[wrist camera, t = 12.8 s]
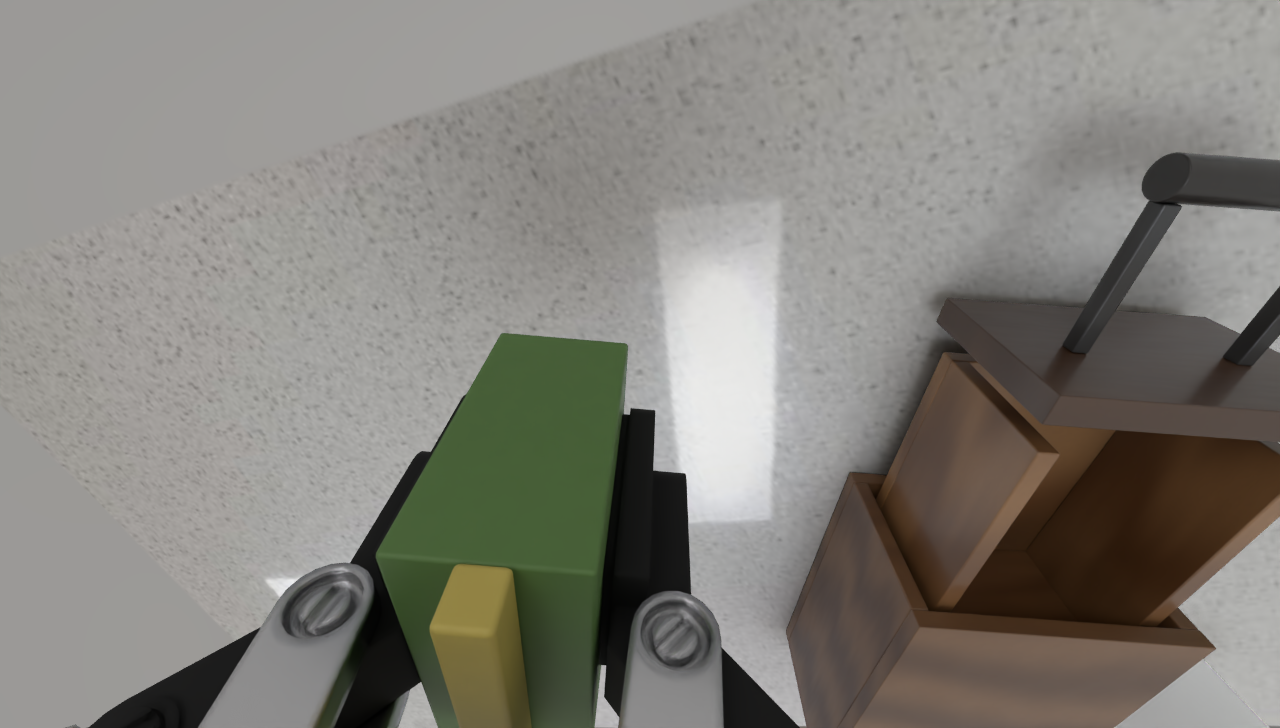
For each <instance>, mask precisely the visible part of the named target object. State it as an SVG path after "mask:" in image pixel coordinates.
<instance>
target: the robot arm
mask: <svg viewBox="0 0 1280 728" xmlns="http://www.w3.org/2000/svg"><path fill="white" fill-rule="evenodd" d="M465 396H466V395H464V396H463V398H462V399H461V401H460V402H459V404H458V406H457V408H456V409H455V411H454V413H453V415H452V416H451V418H450V420H449V422H448V423H447V425H446V427H445V428H444V430H443V432H442V434H441V435H440V437H439V439H438V441H437V442H436V444H435V446H434V448H433V449H432V451H431V452H425V451H421V452H420V453H418V454H417V455H416V456H415V458H414V459H413V460H412V462H411V464H410V465H409V467H408V469H407V470H406V472H405V474H404V475H403V477H402V479H401V480H400V482H399V484H398V485H397V487H396V488H395V490H394V492H393V493H392V495H391V497H390V498H389V500H388V502H387V503H386V505H385V507H384V508H383V510H382V511H381V513H380V515H379V516H378V518H377V520H376V521H375V523H374V525H373V526H372V528H371V530H370V531H369V533H368V535H367V536H366V538H365V539H364V541H363V543H362V544H361V546H360V548H359V549H358V551H357V553H356V554H355V556H354V558H353V559H352V561H351V562H350V563H337V564H330V565H327V566H324V567H321V568H318V569H315V570H313V571H312V572H310V573H308V574H306V575H305V576H303V577H301V578H300V579H298V580H297V581H296V582H295V583H294V584H292V585H291V586H290V587H289V588H288V589H287V590H286V591H285V592H284V594H283V595H282V596H281V597H280V599H279V600H278V601H277V602H276V604H275V606H274V607H273V609H272V610H271V612H270V614H269V615H268V617H267V618H266V620H265V622H264V623H263V625H262V626H261V627H260V628H258V629H257V630H255V631H253V632H251V633H249V634H247V635H245V636H244V637H242V638H240V639H238V640H236V641H234V642H232V643H231V644H229V645H227V646H225V647H224V648H221V649H219V650H218V651H216V652H214V653H212V654H210V655H208V656H207V657H205V658H203V659H201V660H199V661H197V662H195V663H194V664H192V665H190V666H188V667H186V668H184V669H182V670H181V671H179V672H177V673H175V674H173V675H171V676H170V677H168V678H166V679H164V680H162V681H160V682H158V683H156V684H155V685H153V686H151V687H149V688H147V689H146V690H144V691H142V692H140V693H138V694H136V695H134V696H132V697H131V698H129V699H127V700H125V701H124V702H122V703H121V704H119V705H118V706H116V707H114V708H113V709H111V710H110V711H108V712H107V713H105V714H104V715H103V716H102V717H101V718H100V719H98V720H97V721H96V722H95V723H94V724H92V725H91V726H90V727H88V728H398V726H399V723H400V720H401V717H402V714H403V712H404V709H405V706H406V703H407V700H408V697H409V691H410V689H411V688H413V687H414V686H416V685H417V684H418V683H420V682H421V679H420V677H419V674H418V671H417V669H416V666H415V663H414V660H413V658H412V655H411V652H410V650H409V647H408V644H407V641H406V639H405V636H404V633H403V631H402V628H401V625H400V622H399V620H398V617H397V614H396V612H395V609H394V606H393V603H392V601H391V598H390V595H389V592H388V590H387V587H386V584H385V582H384V579H383V576H382V573H381V571H380V568H379V565H378V563H377V560H376V552H377V550H378V548H379V547H380V545H381V543H382V541H383V540H384V538H385V536H386V534H387V533H388V531H389V529H390V527H391V526H392V524H393V522H394V520H395V519H396V517H397V515H398V513H399V512H400V510H401V508H402V506H403V505H404V503H405V501H406V499H407V498H408V496H409V494H410V492H411V491H412V489H413V487H414V485H415V484H416V482H417V480H418V478H419V477H420V475H421V473H422V471H423V470H424V468H425V466H426V464H427V463H428V461H429V459H430V457H431V456H432V454H433V452H434V450H435V449H436V447H437V445H438V443H439V442H440V440H441V438H442V436H443V435H444V433H445V431H446V429H447V428H448V426H449V424H450V422H451V421H452V419H453V417H454V415H455V414H456V412H457V410H458V408H459V407H460V405H461V403H462V401H463V400H464V398H465ZM654 431H655V410H644V409H632V408H631V411H630V415H625V414H623V415H622V422H621V430H620V439H619V447H618V455H617V463H616V471H615V479H614V487H613V495H612V504H611V512H610V520H609V528H608V536H607V544H606V552H605V561H604V571H603V586H602V607H601V628H600V650H599V665H606V679H605V694H604V697H605V699H606V700H607V701H608V703H609V704H610V705H611V707H612V708H613V709H614V711H615V712H616V713H617V715H618V716H619V726H618V728H800V727H799V726H798V725H797V724H796V723H795V722H794V721H793V720H792V719H791V718H790V717H789V716H788V715H787V714H786V713H785V712H784V711H783V710H782V709H781V708H780V707H779V706H778V705H777V704H776V703H775V702H774V701H773V700H772V699H771V698H770V697H769V696H768V695H767V694H766V693H765V692H764V691H763V690H762V688H761V687H760V686H759V685H758V684H757V683H756V682H755V681H754V680H753V679H752V678H751V677H750V676H749V675H748V674H747V673H746V672H745V671H744V670H743V669H742V668H741V667H740V666H739V665H738V664H737V663H736V662H735V661H734V660H733V659H732V658H731V657H730V656H729V655H728V654H727V653H726V652H725V651H724V649H723V648H722V647H721V636H720V630H719V625H718V623H717V621H716V619H715V617H714V615H713V613H712V612H711V611H710V610H709V609H708V607H707V606H706V605H705V604H704V603H703V602H702V601H700V600H698V599H697V598H695V597H694V596H692V595H691V583H690V558H689V534H688V509H687V484H686V475H685V474H684V473H673V472H661V471H653V459H654ZM66 728H80V727H78V726H77V725H72V726H70V727H66Z"/></svg>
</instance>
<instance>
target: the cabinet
mask: <svg viewBox="0 0 1280 728" xmlns="http://www.w3.org/2000/svg"><path fill="white" fill-rule="evenodd" d="M886 476H887V475H879V474H865V473H851V472H850V473H849V476H848V478H847V481H846V483H845V486H844V488H843V491H842V493H841V496H840V498H839V501H838V503H837V506H836V508H835V511H834V513H833V516H832V518H831V520H830V523H829V525H828V528H827V530H826V533H825V535H824V538H823V540H822V543H821V545H820V548H819V550H818V553H817V555H816V558H815V560H814V563H813V565H812V568H811V570H810V573H809V575H808V578H807V580H806V583H805V585H804V588H803V590H802V593H801V595H800V598H799V600H798V603H797V605H796V608H795V610H794V612H793V615H792V617H791V620H790V622H789V625H788V627H787V630H786V634H787V639H788V641H789V642H788V643H789V647H790V652H791V657H792V661H793V666H794V671H795V675H796V680H797V684H798V689H799V694H800V698H801V703H802V708H803V712H804V717H805V721H806V726H807V728H1114V727H1116V726H1117V725H1118V724H1120V723H1121V722H1122V721H1123V720H1125V719H1126V718H1127V717H1129V716H1130V715H1131V714H1132V713H1134V712H1135V711H1136V710H1138V709H1139V708H1140V707H1142V706H1143V705H1144V704H1145V703H1147V702H1148V701H1149V700H1151V699H1152V698H1153V697H1154V696H1156V695H1157V694H1158V693H1160V692H1161V691H1162V690H1163V689H1165V688H1166V687H1167V686H1169V685H1170V684H1171V683H1173V682H1174V681H1175V680H1176V679H1178V678H1179V677H1180V676H1182V675H1183V674H1184V673H1185V672H1187V671H1188V670H1189V669H1191V668H1192V667H1193V666H1194V665H1196V664H1197V663H1198V662H1200V661H1201V660H1202V659H1203V658H1205V657H1206V656H1207V655H1209V654H1210V653H1211V652H1213V651H1214V650H1215V649H1216V648H1215V647H1214V645H1213V644H1212V643H1211V642H1210V641H1209V640H1208V639H1207V638H1206V637H1205V636H1204V635H1203V634H1202V633H1201V632H1200V631H1199V630H1198V629H1197V628H1196V627H1195V625H1194V624H1193V623H1192V622H1191V621H1190V620H1189V619H1188V618H1187V617H1186V616H1185V615H1184V614H1183V613H1182V612H1181V610H1180V609H1179V608H1177V609H1175V610H1174V611H1173V612H1172V613H1171V614H1170V615H1169V616H1168V617H1166V618H1165V619H1164V620H1163V621H1162V622H1161V623H1160V624H1159V625H1158V626H1156V627H1144V626H1130V625H1117V624H1103V623H1089V622H1075V621H1061V620H1047V619H1033V618H1019V617H1005V616H991V615H977V614H963V613H950V612H936V611H928V608H927V606H926V604H925V602H924V600H923V597H922V595H921V593H920V591H919V589H918V587H917V585H916V583H915V581H914V579H913V577H912V575H911V572H910V570H909V568H908V566H907V564H906V562H905V560H904V558H903V556H902V554H901V552H900V550H899V548H898V545H897V543H896V541H895V539H894V537H893V535H892V533H891V531H890V529H889V527H888V525H887V523H886V520H885V518H884V516H883V514H882V512H881V510H880V508H879V506H878V504H877V502H876V498H877V496H878V494H879V492H880V489H881V487H882V485H883V483H884V481H885V478H886Z"/></svg>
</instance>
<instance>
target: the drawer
mask: <svg viewBox="0 0 1280 728" xmlns="http://www.w3.org/2000/svg"><path fill="white" fill-rule="evenodd" d="M1142 192H1143V195H1144V196H1145V197H1146V198H1147V199H1148V200H1150V201H1149V202H1148V203H1147V205H1146V206H1145V208H1144V210H1143V211H1142V213H1141V215H1140V216H1139V218H1138V220H1137V221H1136V223H1135V225H1134V226H1133V228H1132V230H1131V231H1130V233H1129V235H1128V236H1127V238H1126V240H1125V241H1124V243H1123V244H1122V246H1121V248H1120V249H1119V251H1118V253H1117V254H1116V256H1115V258H1114V259H1113V261H1112V263H1111V264H1110V266H1109V268H1108V269H1107V271H1106V273H1105V274H1104V276H1103V278H1102V279H1101V281H1100V283H1099V284H1098V286H1097V288H1096V289H1095V291H1094V292H1093V294H1092V296H1091V297H1090V299H1089V301H1088V302H1087V304H1086V306H1085V307H1084V308H1076V307H1062V306H1049V305H1035V304H1022V303H1008V302H995V301H981V300H968V299H954V298H946V300H945V303H944V305H943V307H942V310H941V312H940V314H939V317H938V319H937V323H938V324H939V325H940V326H941V327H942V328H943V329H944V330H945V331H946V332H947V333H948V334H949V335H950V336H951V337H953V338H954V339H955V340H956V341H957V342H958V343H959V344H960V345H961V346H962V347H963V348H964V349H965V350H966V351H967V352H968V353H969V354H964V353H950V352H944V353H943V354H942V357H941V359H940V361H939V363H938V365H937V368H936V370H935V372H934V374H933V376H932V378H931V381H930V383H929V385H928V387H927V389H926V391H925V394H924V396H923V398H922V400H921V402H920V404H919V407H918V409H917V411H916V413H915V415H914V418H913V420H912V422H911V424H910V426H909V428H908V431H907V433H906V435H905V437H904V439H903V441H902V444H901V446H900V448H899V450H898V452H897V455H896V457H895V459H894V461H893V463H892V465H891V468H890V470H889V472H888V474H887V476H886V478H885V481H884V483H883V485H882V487H881V489H880V492H879V494H878V496H877V498H876V502H877V504H878V506H879V508H880V510H881V512H882V514H883V516H884V518H885V520H886V523H887V525H888V527H889V529H890V531H891V533H892V535H893V537H894V539H895V541H896V543H897V545H898V548H899V550H900V552H901V554H902V556H903V558H904V560H905V562H906V564H907V566H908V568H909V570H910V572H911V575H912V577H913V579H914V581H915V583H916V585H917V587H918V589H919V591H920V593H921V595H922V597H923V600H924V602H925V604H926V606H927V608H928V611H936V612H950V613H963V614H977V615H991V616H1005V617H1019V618H1033V619H1047V620H1061V621H1075V622H1089V623H1103V624H1117V625H1130V626H1144V627H1156V626H1158V625H1159V624H1160V623H1161V622H1162V621H1163V620H1164V619H1165V618H1166V617H1168V616H1169V615H1170V614H1171V613H1172V612H1173V611H1174V610H1175V609H1177V608H1178V607H1179V606H1180V605H1181V604H1182V603H1183V602H1184V601H1186V600H1187V599H1188V598H1189V597H1190V596H1191V595H1192V594H1193V593H1194V592H1196V591H1197V590H1198V589H1199V588H1200V587H1201V586H1202V585H1203V584H1205V583H1206V582H1207V581H1208V580H1209V579H1210V578H1211V577H1212V576H1213V575H1215V574H1216V573H1217V572H1218V571H1219V570H1220V569H1221V568H1222V567H1224V566H1225V565H1226V564H1227V563H1228V562H1229V561H1230V560H1231V559H1233V558H1234V557H1235V556H1236V555H1237V554H1238V553H1239V552H1240V551H1241V550H1243V549H1244V548H1245V547H1246V546H1247V545H1248V544H1249V543H1250V542H1252V541H1253V540H1254V539H1255V538H1256V537H1257V536H1258V535H1259V534H1260V533H1262V532H1263V531H1264V530H1265V529H1266V528H1267V527H1268V526H1269V525H1271V524H1272V523H1273V522H1274V521H1275V520H1276V519H1277V518H1278V517H1280V444H1279V443H1278V442H1280V353H1278V352H1276V351H1274V350H1272V349H1270V348H1269V347H1270V345H1271V344H1272V343H1273V342H1274V341H1275V340H1276V339H1277V337H1278V336H1279V335H1280V287H1279V288H1278V289H1277V290H1276V291H1275V293H1274V294H1273V295H1272V296H1271V298H1270V299H1269V300H1268V301H1267V302H1266V304H1265V305H1264V306H1263V307H1262V309H1261V310H1260V311H1259V312H1258V313H1257V315H1256V316H1255V317H1254V318H1253V320H1252V321H1251V322H1250V323H1249V324H1248V326H1247V327H1246V328H1245V329H1244V331H1243V332H1242V333H1241V334H1239V333H1237V332H1235V331H1233V330H1231V329H1229V328H1227V327H1225V326H1223V325H1221V324H1218V323H1216V322H1214V321H1212V320H1210V319H1208V318H1206V317H1197V316H1183V315H1170V314H1157V313H1143V312H1130V311H1116V309H1117V307H1118V306H1119V304H1120V303H1121V301H1122V300H1123V298H1124V297H1125V295H1126V293H1127V292H1128V290H1129V289H1130V287H1131V286H1132V284H1133V283H1134V281H1135V280H1136V278H1137V276H1138V275H1139V273H1140V272H1141V270H1142V269H1143V267H1144V266H1145V264H1146V262H1147V261H1148V259H1149V258H1150V256H1151V255H1152V253H1153V252H1154V250H1155V248H1156V247H1157V245H1158V244H1159V242H1160V241H1161V239H1162V238H1163V236H1164V234H1165V233H1166V231H1167V230H1168V228H1169V227H1170V225H1171V224H1172V222H1173V220H1174V219H1175V217H1176V216H1177V214H1178V213H1179V211H1180V210H1181V208H1182V206H1181V205H1178V204H1188V205H1201V206H1215V207H1228V208H1241V209H1255V210H1268V211H1280V160H1271V159H1258V158H1244V157H1231V156H1218V155H1205V154H1191V153H1171V154H1168V155H1166V156H1164V157H1162V158H1160V159H1159V160H1157V161H1156V162H1155V163H1154V164H1153V165H1152V166H1151V167H1150V168H1149V169H1148V171H1147V172H1146V174H1145V176H1144V178H1143V182H1142Z"/></svg>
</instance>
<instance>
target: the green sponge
mask: <svg viewBox="0 0 1280 728" xmlns="http://www.w3.org/2000/svg"><path fill="white" fill-rule="evenodd" d="M627 356H628V345H627V344H625V343H614V342H602V341H590V340H579V339H567V338H555V337H543V336H531V335H520V334H508V333H502V334H501V335H500V337H499V338H498V340H497V342H496V344H495V345H494V347H493V349H492V351H491V352H490V354H489V356H488V358H487V359H486V361H485V363H484V365H483V366H482V368H481V370H480V372H479V373H478V375H477V377H476V379H475V380H474V382H473V384H472V386H471V387H470V389H469V391H468V393H467V394H466V396H465V398H464V400H463V401H462V403H461V405H460V407H459V408H458V410H457V412H456V414H455V415H454V417H453V419H452V421H451V422H450V424H449V426H448V428H447V429H446V431H445V433H444V435H443V436H442V438H441V440H440V442H439V443H438V445H437V447H436V449H435V450H434V452H433V454H432V456H431V457H430V459H429V461H428V463H427V464H426V466H425V468H424V470H423V471H422V473H421V475H420V477H419V478H418V480H417V482H416V484H415V485H414V487H413V489H412V491H411V492H410V494H409V496H408V498H407V499H406V501H405V503H404V505H403V506H402V508H401V510H400V512H399V513H398V515H397V517H396V519H395V520H394V522H393V524H392V526H391V527H390V529H389V531H388V533H387V534H386V536H385V538H384V540H383V541H382V543H381V545H380V547H379V548H378V550H377V552H376V560H377V563H378V565H379V568H380V571H381V573H382V576H383V579H384V582H385V584H386V587H387V590H388V592H389V595H390V598H391V601H392V603H393V606H394V609H395V612H396V614H397V617H398V620H399V622H400V625H401V628H402V631H403V633H404V636H405V639H406V641H407V644H408V647H409V650H410V652H411V655H412V658H413V660H414V663H415V666H416V669H417V671H418V674H419V677H420V679H421V682H422V685H423V688H424V690H425V693H426V696H427V699H428V701H429V704H430V707H431V709H432V712H433V715H434V718H435V720H436V723H437V726H438V728H594V726H595V717H596V708H597V698H598V689H599V680H600V670H601V665H599V650H600V628H601V607H602V586H603V571H604V561H605V552H606V544H607V536H608V528H609V520H610V512H611V504H612V495H613V487H614V479H615V471H616V463H617V455H618V447H619V439H620V430H621V422H622V415H623V414H624V401H625V386H626V371H627Z"/></svg>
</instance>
